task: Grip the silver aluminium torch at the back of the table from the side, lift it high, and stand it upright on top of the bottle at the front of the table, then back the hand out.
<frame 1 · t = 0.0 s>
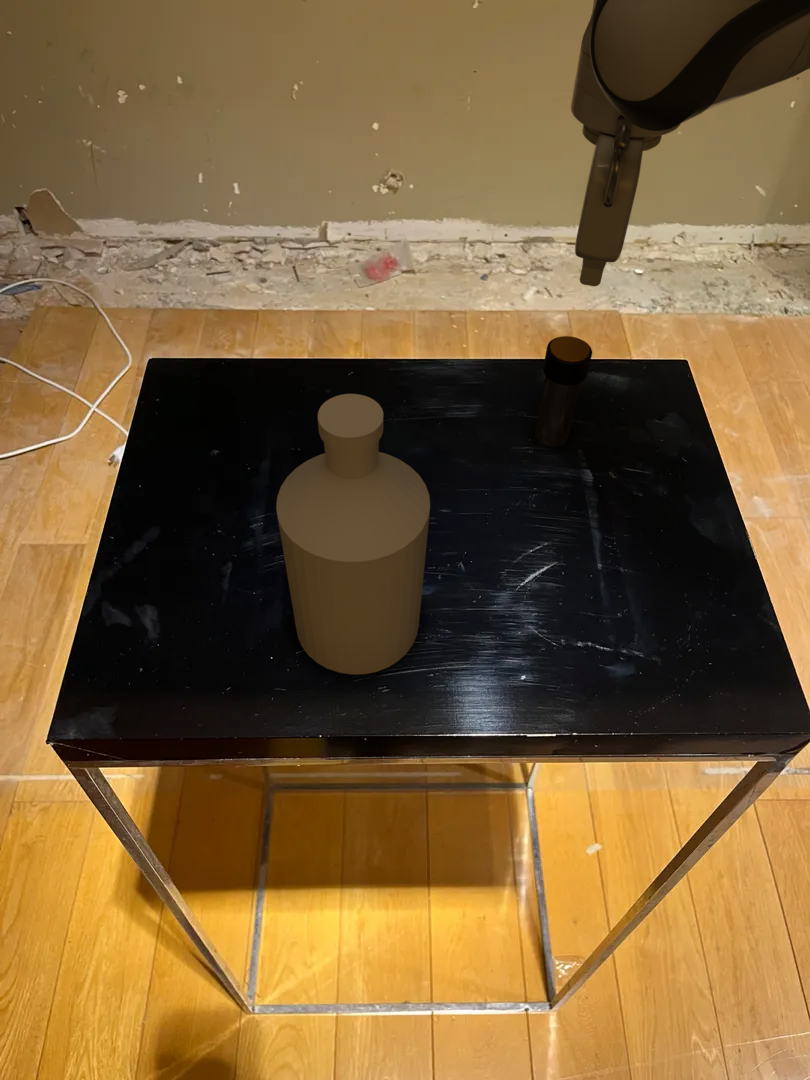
hand: (595, 253, 75), 23 cm above the table, tool pointing down, fingers open, 8 cm apart
bottle: (357, 622, 76), on the table
torch: (551, 435, 93), on the table
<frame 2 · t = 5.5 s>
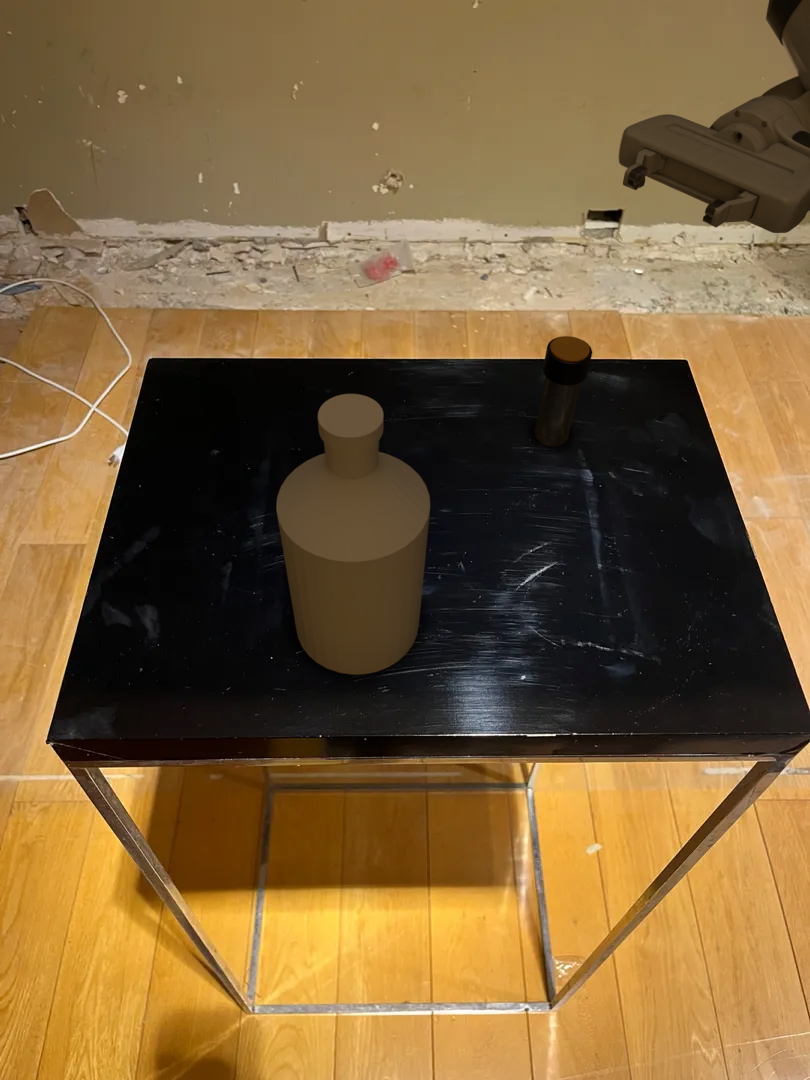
hand: (668, 198, 80), 24 cm above the table, tool horizontal, fingers open, 8 cm apart
nothing on the table moved.
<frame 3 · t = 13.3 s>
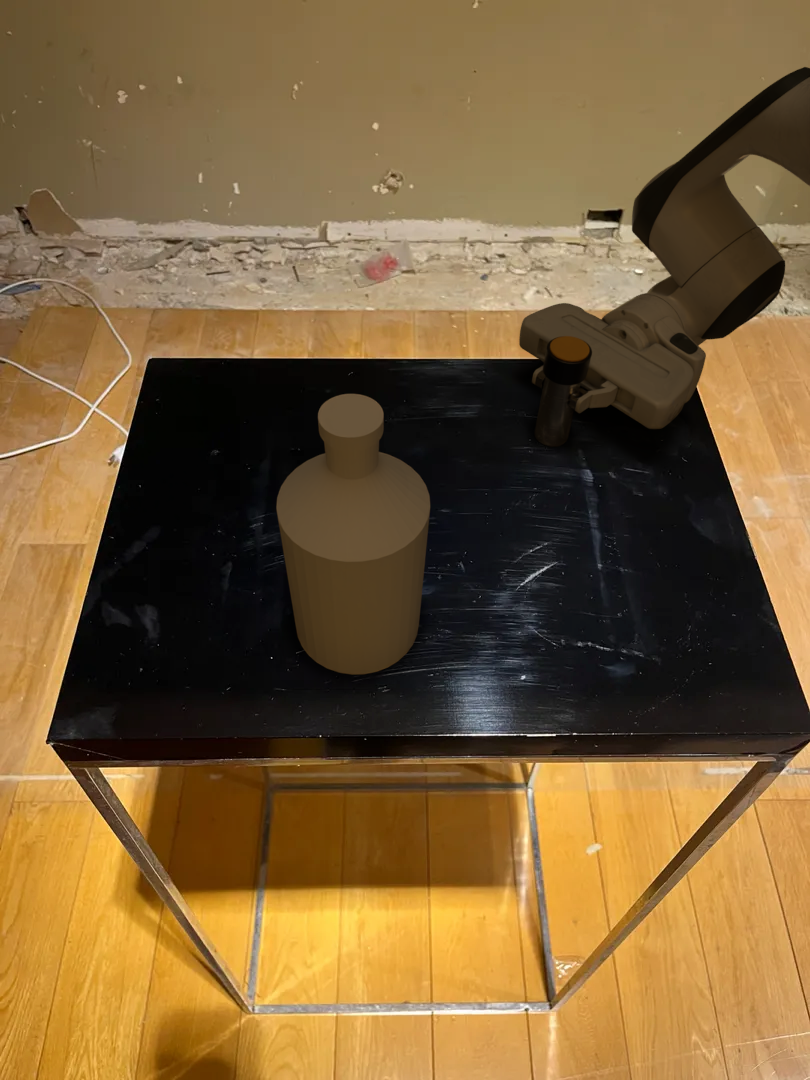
hand: (555, 393, 88), 7 cm above the table, tool horizontal, fingers closed on torch, 4 cm apart
torch: (551, 435, 93), on the table, touching gripper
everything else where it was.
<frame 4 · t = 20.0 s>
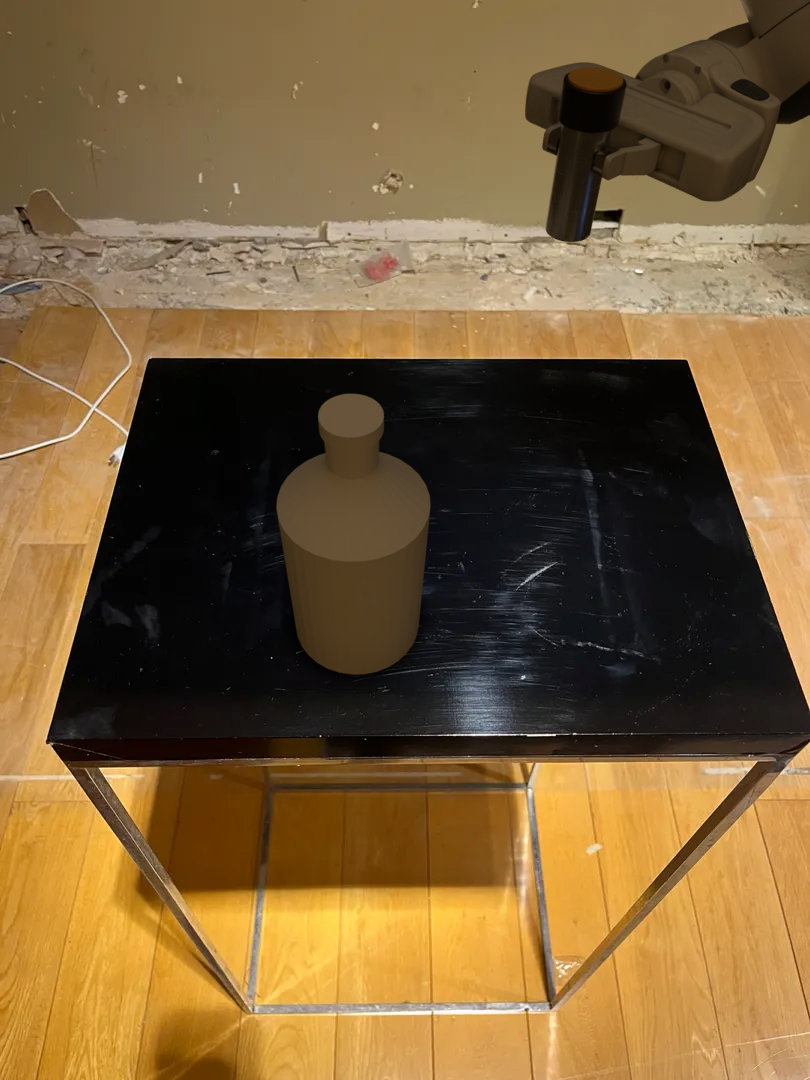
hand: (575, 155, 64), 34 cm above the table, tool horizontal, fingers closed on torch, 4 cm apart
torch: (567, 230, 69), point 27 cm above the table, touching gripper
everything else where it was.
when the fingers open (32 cm above the table, at t = 26.7 s): torch stays where it is, resting on bottle.
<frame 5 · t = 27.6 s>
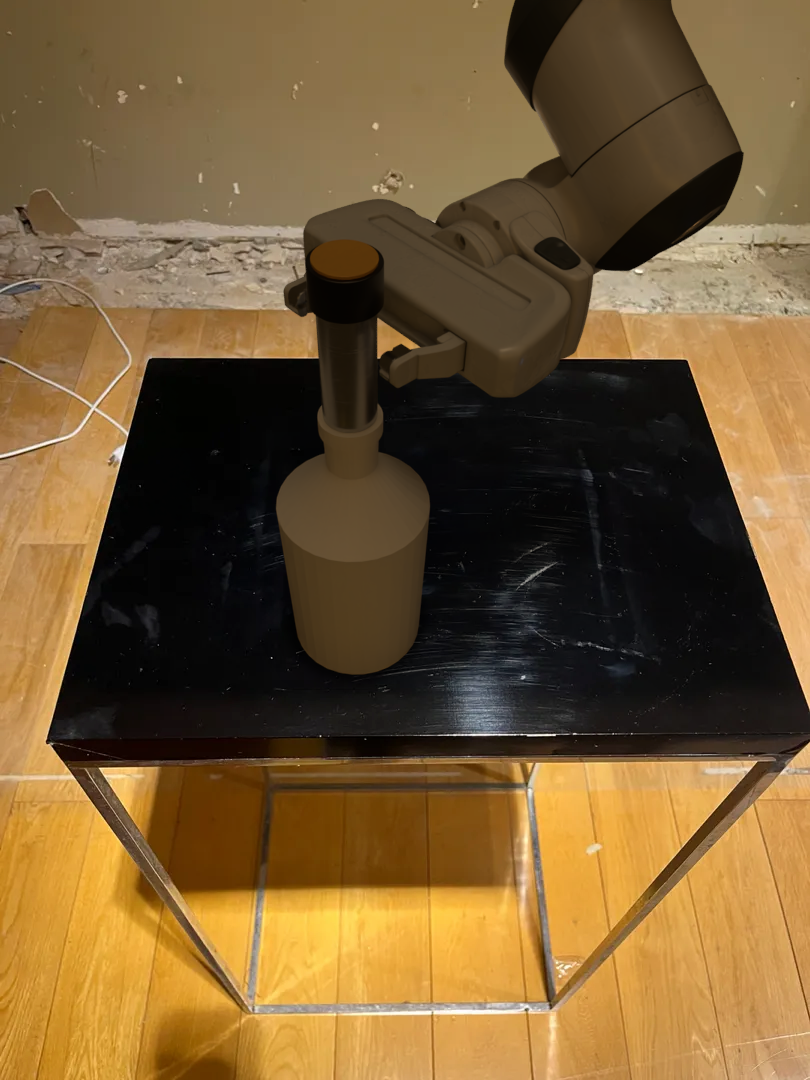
hand: (336, 336, 51), 32 cm above the table, tool horizontal, fingers open, 8 cm apart
bottle: (357, 622, 76), on the table, touching torch
torch: (350, 414, 57), point 25 cm above the table, touching bottle
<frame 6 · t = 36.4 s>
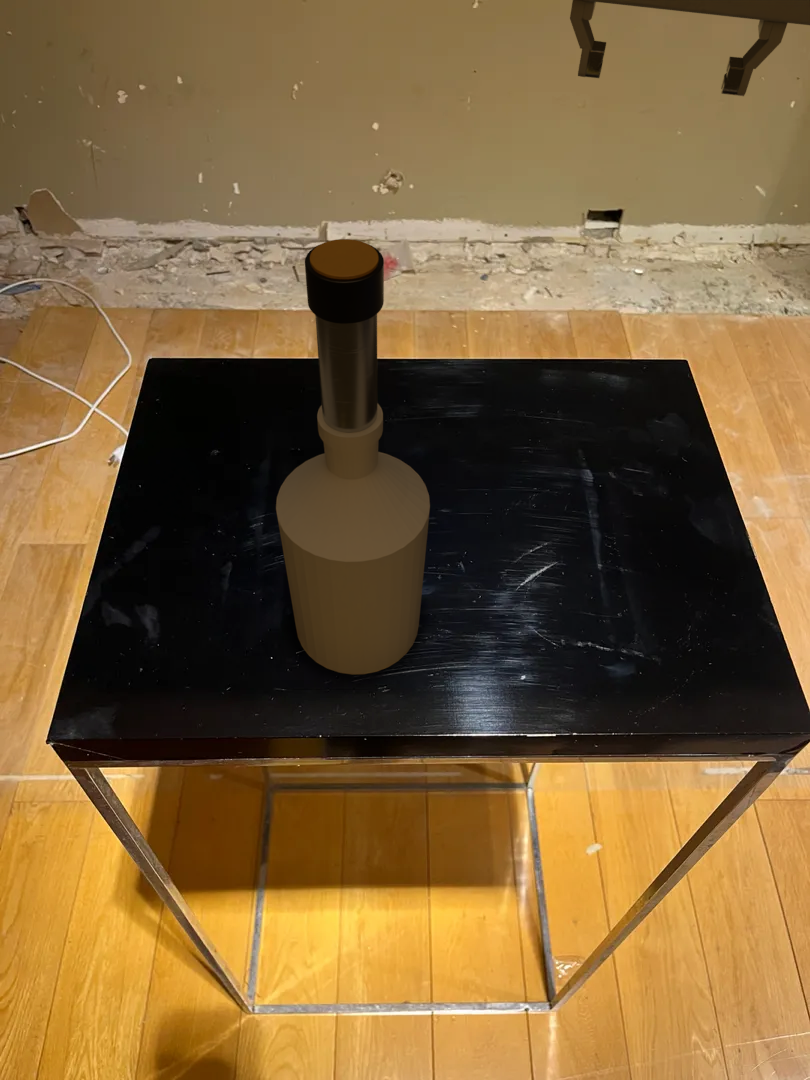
hand: (659, 83, 55), 41 cm above the table, tool pointing down, fingers open, 8 cm apart
nothing on the table moved.
at the end: torch point 25.0 cm above the table; torch 0.1 cm from the bottle (horizontally); torch tilted 0° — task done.
